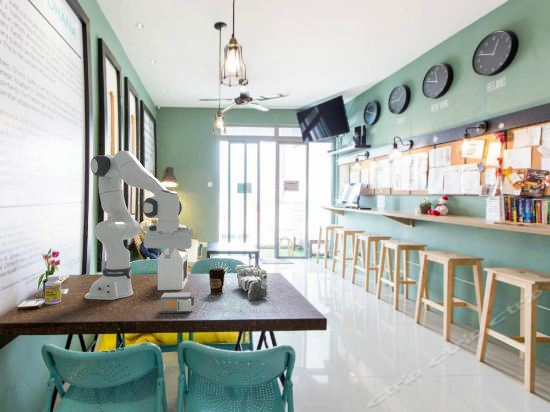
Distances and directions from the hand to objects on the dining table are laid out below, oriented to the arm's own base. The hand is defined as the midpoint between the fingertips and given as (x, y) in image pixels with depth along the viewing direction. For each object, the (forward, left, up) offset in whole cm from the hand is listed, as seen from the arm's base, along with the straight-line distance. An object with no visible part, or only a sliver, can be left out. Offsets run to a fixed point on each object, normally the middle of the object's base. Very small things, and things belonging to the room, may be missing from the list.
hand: (167, 258), depth 158 cm
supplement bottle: (-57, +18, -24) cm, 64 cm away
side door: (+8, -3, -22) cm, 24 cm away
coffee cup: (+19, +30, -24) cm, 43 cm away
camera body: (+3, +2, -23) cm, 24 cm away
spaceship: (+39, +31, -24) cm, 55 cm away
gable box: (-7, +50, -24) cm, 55 cm away
